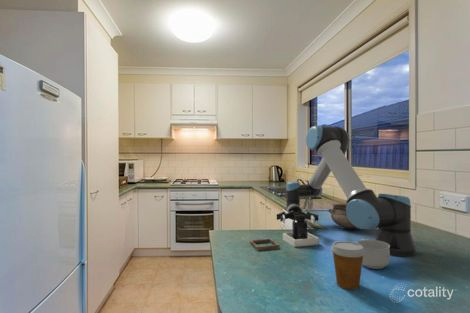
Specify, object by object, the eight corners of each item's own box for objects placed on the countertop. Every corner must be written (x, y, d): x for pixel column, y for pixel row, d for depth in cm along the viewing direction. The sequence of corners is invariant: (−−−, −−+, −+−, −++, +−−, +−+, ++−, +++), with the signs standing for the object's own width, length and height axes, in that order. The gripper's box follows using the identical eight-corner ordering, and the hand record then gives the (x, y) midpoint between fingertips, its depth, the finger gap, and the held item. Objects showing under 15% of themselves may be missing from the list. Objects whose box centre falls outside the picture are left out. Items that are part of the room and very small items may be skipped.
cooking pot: (380, 229, 149) (380, 207, 149) (363, 236, 137) (363, 211, 137) (337, 221, 168) (337, 201, 168) (319, 226, 156) (319, 205, 156)
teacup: (394, 273, 93) (394, 249, 93) (360, 270, 95) (360, 247, 96) (381, 258, 107) (381, 237, 107) (351, 256, 109) (351, 236, 109)
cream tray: (319, 244, 124) (319, 238, 124) (294, 247, 121) (294, 240, 121) (305, 237, 135) (305, 231, 135) (282, 239, 132) (282, 233, 132)
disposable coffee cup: (371, 291, 80) (371, 249, 80) (339, 293, 80) (339, 250, 80) (354, 277, 90) (354, 240, 90) (326, 278, 89) (325, 241, 89)
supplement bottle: (290, 238, 131) (290, 213, 131) (304, 238, 132) (304, 213, 132) (295, 243, 124) (294, 216, 125) (309, 242, 125) (309, 216, 125)
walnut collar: (279, 248, 119) (279, 245, 119) (257, 250, 116) (257, 247, 116) (270, 241, 129) (270, 238, 129) (249, 243, 126) (249, 240, 126)
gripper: (318, 219, 150) (326, 229, 129) (271, 218, 153) (272, 228, 132) (318, 205, 150) (326, 213, 129) (271, 204, 153) (272, 212, 132)
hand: (299, 220), depth 130 cm, fingers open, 13 cm apart
